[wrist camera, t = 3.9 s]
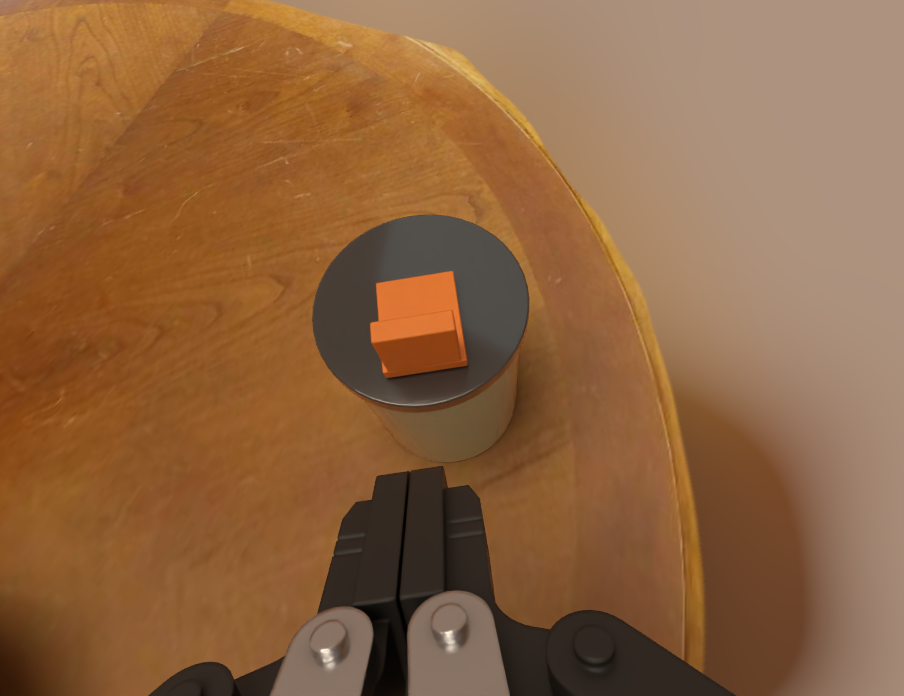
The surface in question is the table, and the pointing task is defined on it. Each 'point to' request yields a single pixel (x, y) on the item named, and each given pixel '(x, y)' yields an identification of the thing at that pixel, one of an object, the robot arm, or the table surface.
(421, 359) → the slider
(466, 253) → the lidded canister
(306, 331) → the table surface
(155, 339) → the table surface
